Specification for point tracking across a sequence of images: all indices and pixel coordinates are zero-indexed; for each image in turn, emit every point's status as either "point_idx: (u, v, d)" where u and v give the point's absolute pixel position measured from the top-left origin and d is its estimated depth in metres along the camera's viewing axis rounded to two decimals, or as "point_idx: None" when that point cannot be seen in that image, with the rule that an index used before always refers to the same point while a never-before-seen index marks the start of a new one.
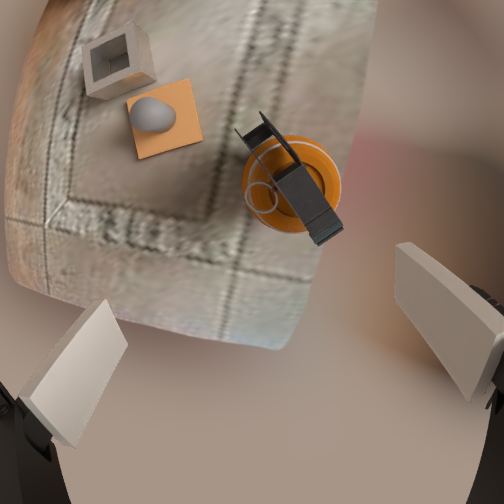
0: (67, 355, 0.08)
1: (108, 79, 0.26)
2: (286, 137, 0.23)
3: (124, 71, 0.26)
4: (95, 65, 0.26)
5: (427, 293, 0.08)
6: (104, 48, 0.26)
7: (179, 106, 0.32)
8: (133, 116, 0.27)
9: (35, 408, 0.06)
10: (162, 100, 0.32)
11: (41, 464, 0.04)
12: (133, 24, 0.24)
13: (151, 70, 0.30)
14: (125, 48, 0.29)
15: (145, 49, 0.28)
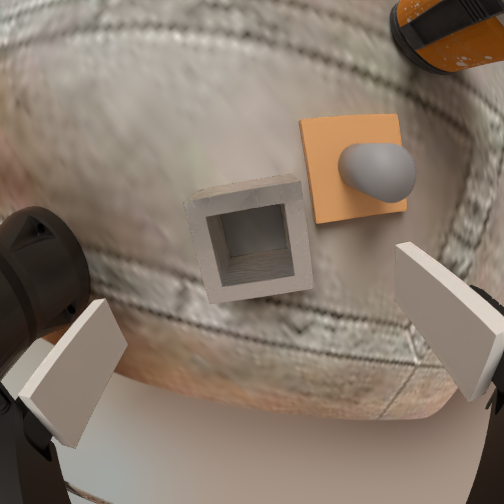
0: (67, 355, 0.08)
1: (298, 246, 0.20)
2: None
3: (291, 213, 0.19)
4: (253, 275, 0.22)
5: (427, 293, 0.08)
6: (220, 260, 0.22)
7: (346, 136, 0.21)
8: (391, 195, 0.17)
9: (35, 408, 0.06)
10: (331, 162, 0.22)
11: (41, 464, 0.04)
12: (189, 202, 0.19)
13: (274, 177, 0.23)
14: (220, 226, 0.24)
15: (236, 186, 0.22)
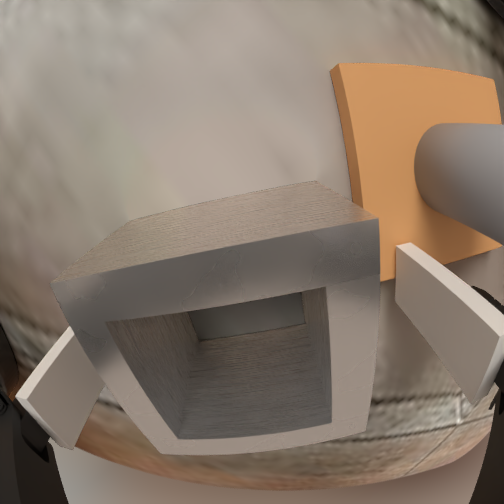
0: (64, 357, 0.08)
1: (348, 378, 0.07)
2: None
3: (344, 313, 0.06)
4: (241, 411, 0.09)
5: (429, 294, 0.08)
6: (170, 383, 0.09)
7: (427, 107, 0.09)
8: None
9: (32, 409, 0.06)
10: (403, 159, 0.09)
11: (39, 465, 0.04)
12: (61, 282, 0.06)
13: (284, 192, 0.10)
14: None
15: (193, 218, 0.09)
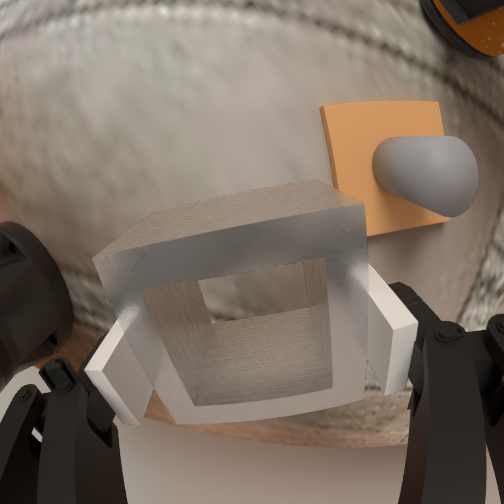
0: None
1: (345, 341, 0.09)
2: None
3: (339, 280, 0.08)
4: (251, 380, 0.11)
5: None
6: (189, 354, 0.11)
7: (381, 128, 0.16)
8: (451, 207, 0.11)
9: (105, 382, 0.07)
10: (364, 161, 0.17)
11: (101, 452, 0.05)
12: (103, 257, 0.08)
13: (290, 187, 0.11)
14: (189, 281, 0.13)
15: (214, 208, 0.10)
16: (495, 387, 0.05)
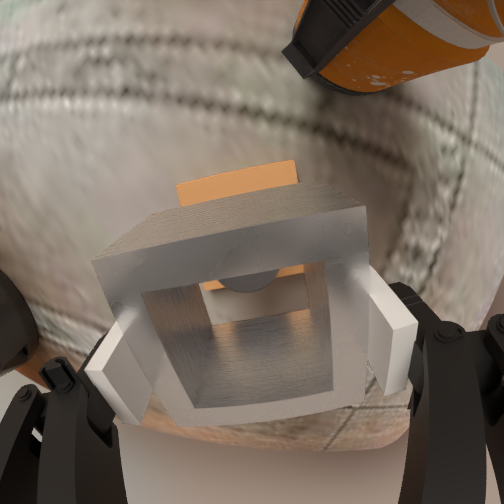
0: None
1: (346, 344, 0.09)
2: None
3: (340, 283, 0.08)
4: (252, 382, 0.11)
5: None
6: (189, 357, 0.11)
7: None
8: (248, 284, 0.16)
9: (105, 382, 0.07)
10: None
11: (101, 452, 0.05)
12: (103, 259, 0.08)
13: (290, 189, 0.11)
14: None
15: (214, 210, 0.10)
16: (495, 387, 0.05)
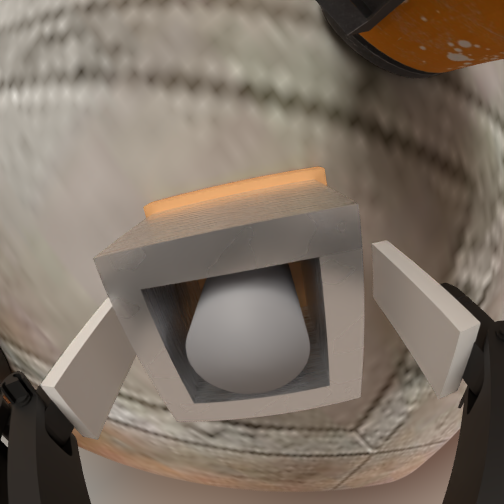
0: (90, 344, 0.09)
1: (341, 339, 0.09)
2: None
3: (334, 279, 0.08)
4: None
5: (399, 290, 0.09)
6: None
7: None
8: (252, 384, 0.09)
9: (59, 398, 0.06)
10: None
11: (61, 459, 0.05)
12: (104, 257, 0.08)
13: (287, 188, 0.12)
14: (188, 281, 0.13)
15: (212, 209, 0.11)
16: None
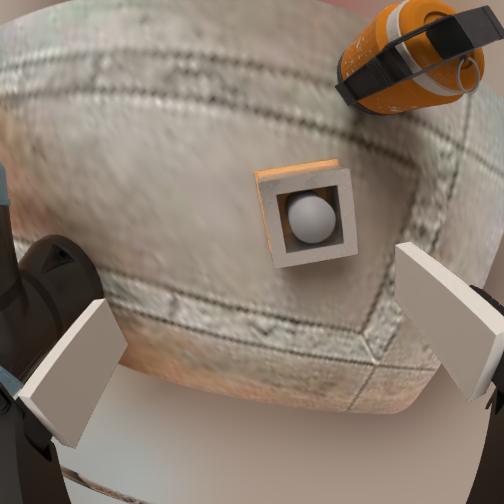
0: (67, 355, 0.08)
1: (346, 219, 0.24)
2: (380, 41, 0.14)
3: (342, 193, 0.23)
4: (309, 244, 0.26)
5: (427, 293, 0.08)
6: None
7: None
8: (314, 237, 0.25)
9: (35, 408, 0.06)
10: (280, 205, 0.30)
11: (41, 464, 0.04)
12: (262, 182, 0.24)
13: (322, 166, 0.27)
14: None
15: (294, 172, 0.26)
16: None
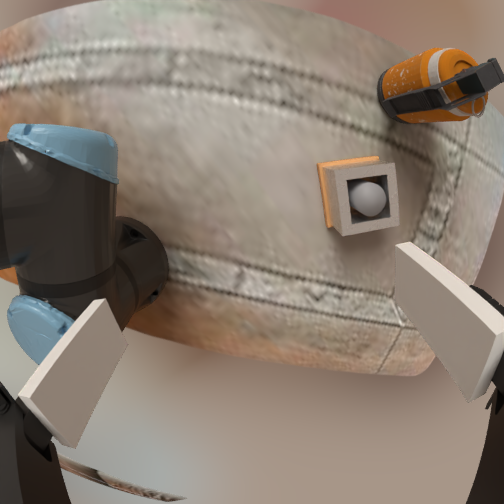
0: (67, 355, 0.08)
1: (392, 199, 0.31)
2: (423, 77, 0.21)
3: (390, 180, 0.30)
4: (365, 218, 0.33)
5: (427, 293, 0.08)
6: None
7: None
8: (371, 212, 0.32)
9: (35, 408, 0.06)
10: None
11: (41, 464, 0.04)
12: (337, 170, 0.30)
13: (370, 161, 0.34)
14: None
15: (352, 164, 0.33)
16: None
